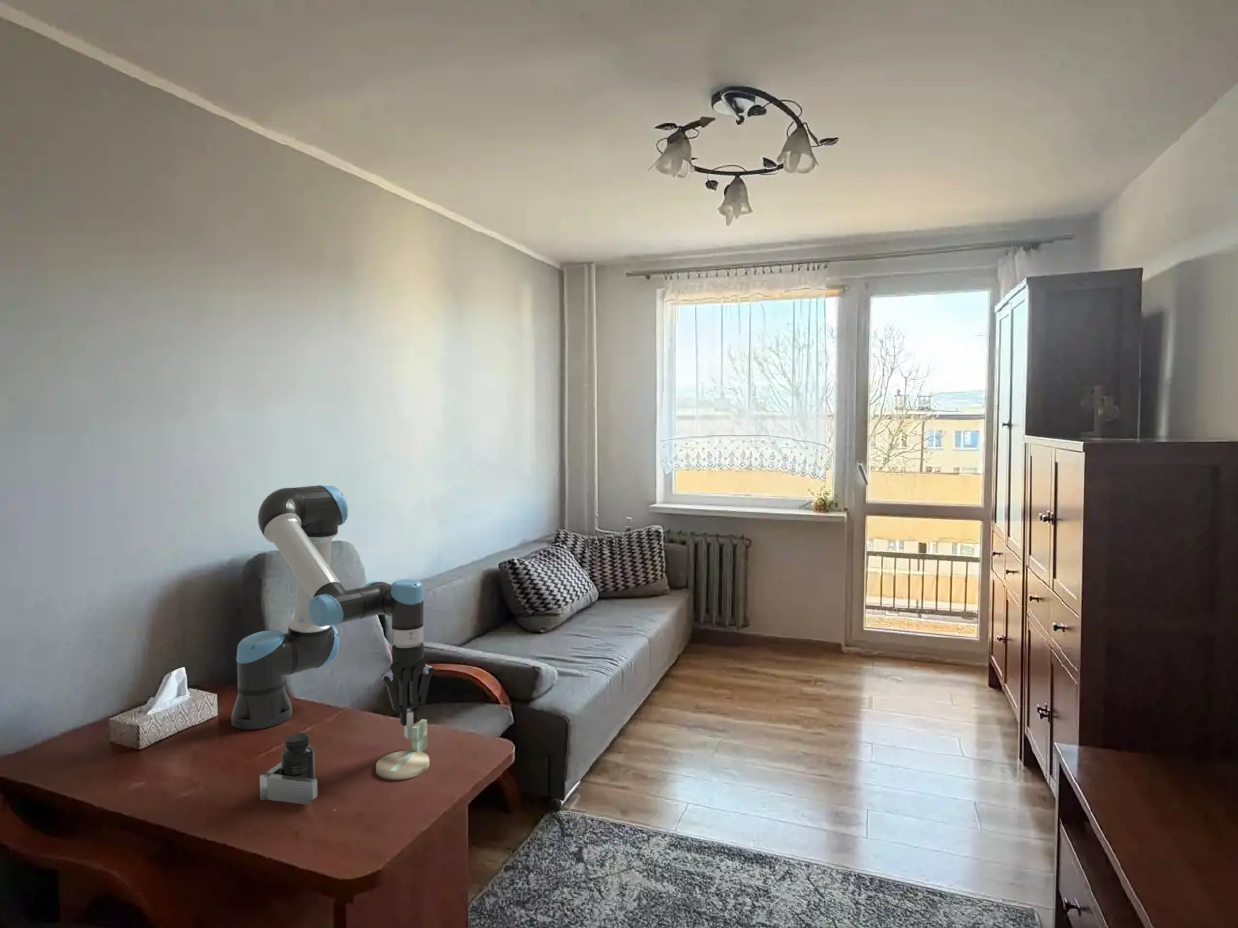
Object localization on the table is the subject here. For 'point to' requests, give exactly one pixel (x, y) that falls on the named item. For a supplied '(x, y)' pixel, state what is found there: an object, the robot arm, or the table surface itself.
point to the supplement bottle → (298, 757)
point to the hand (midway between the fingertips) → (408, 736)
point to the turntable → (407, 757)
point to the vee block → (287, 787)
